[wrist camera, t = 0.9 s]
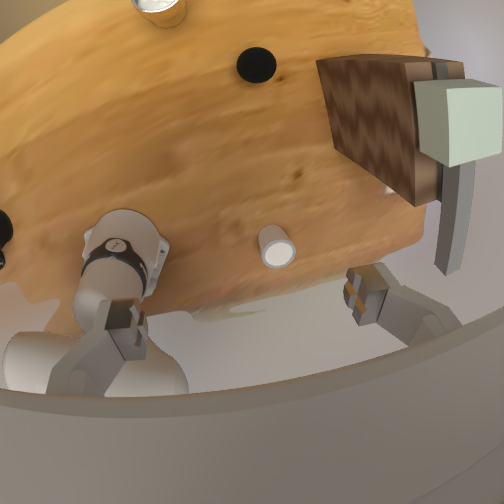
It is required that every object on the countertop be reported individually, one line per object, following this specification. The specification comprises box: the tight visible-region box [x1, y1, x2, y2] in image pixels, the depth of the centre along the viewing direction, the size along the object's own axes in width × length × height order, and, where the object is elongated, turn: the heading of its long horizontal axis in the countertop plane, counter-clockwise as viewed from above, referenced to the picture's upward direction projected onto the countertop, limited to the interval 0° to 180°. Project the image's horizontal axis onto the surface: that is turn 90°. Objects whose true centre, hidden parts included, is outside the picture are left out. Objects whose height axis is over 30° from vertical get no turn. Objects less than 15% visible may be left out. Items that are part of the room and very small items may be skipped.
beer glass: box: [131, 0, 186, 28], centre depth 29 cm, size 7×7×15 cm
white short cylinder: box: [258, 225, 296, 268], centre depth 60 cm, size 7×7×7 cm
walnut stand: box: [316, 54, 465, 207], centre depth 38 cm, size 18×10×27 cm, turn 16°
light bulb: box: [237, 47, 277, 83], centre depth 39 cm, size 6×6×10 cm
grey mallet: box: [414, 79, 502, 276], centre depth 28 cm, size 26×10×5 cm, turn 16°
